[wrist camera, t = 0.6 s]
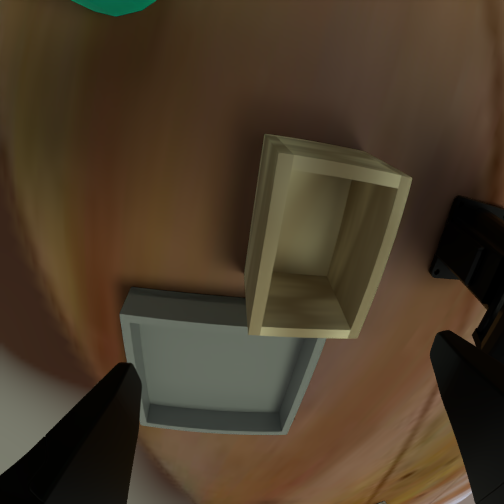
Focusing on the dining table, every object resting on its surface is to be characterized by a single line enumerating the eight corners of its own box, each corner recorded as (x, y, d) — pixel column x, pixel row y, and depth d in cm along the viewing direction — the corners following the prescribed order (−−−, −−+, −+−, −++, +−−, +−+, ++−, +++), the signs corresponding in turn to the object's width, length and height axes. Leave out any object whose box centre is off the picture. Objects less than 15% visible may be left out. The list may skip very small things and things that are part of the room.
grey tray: (319, 303, 23) (329, 330, 20) (283, 409, 29) (286, 434, 26) (131, 286, 21) (119, 313, 18) (145, 399, 27) (140, 424, 25)
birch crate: (363, 150, 18) (412, 178, 12) (330, 279, 22) (357, 338, 17) (264, 133, 17) (278, 152, 12) (243, 272, 21) (248, 334, 16)
